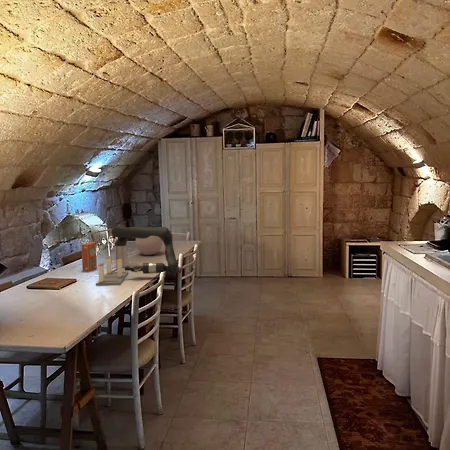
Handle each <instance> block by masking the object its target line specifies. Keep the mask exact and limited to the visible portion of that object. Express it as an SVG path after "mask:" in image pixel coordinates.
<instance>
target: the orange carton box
mask: <svg viewBox="0 0 450 450" xmlns="http://www.w3.org/2000/svg"><path fill="white" fill-rule="evenodd" d="M96 243H97V242H96V241H88V242H85V243H81V246H80V247H81V248H80V249H81V264H82V266H81V267H82V272H83V273H89V272H93V271H94V270H95V271H96V270H98V263H97V260H98V259H97V246H96Z"/></svg>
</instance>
